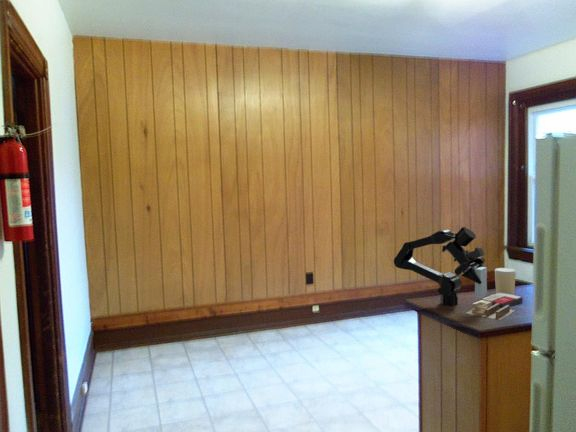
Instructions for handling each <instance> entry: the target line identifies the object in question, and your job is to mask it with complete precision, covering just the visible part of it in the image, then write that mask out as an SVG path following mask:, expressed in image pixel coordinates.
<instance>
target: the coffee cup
mask: <svg viewBox="0 0 576 432" xmlns="http://www.w3.org/2000/svg"><path fill="white" fill-rule="evenodd" d="M516 273H517V271H516V269H515V268H511V267H510V268H509V267H498V268H495V269H494V282H495V284H494V285H495V294H497V293H500V292H501V293H506V294H511V295H515V289H516V288H515V287H516Z"/></svg>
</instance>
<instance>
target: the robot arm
mask: <svg viewBox="0 0 576 432" xmlns="http://www.w3.org/2000/svg"><path fill="white" fill-rule="evenodd" d="M476 238H477V236H476V234H475V233H474V231H473V230H471V229H468V227H466V226H462V227H461V228H460V229H459V230H458V231H457V232H452V231H451V230H450V229H442V230H438V231H436V232H435V233H432V234H430V235H429V236H427V237H423V238H418V239H415V240H412V241H411V240H410V241H407V242H404V243H403V244H402V247H401V249H399V251H398V252H397V254H396V256H395V257H394V259H393V264H394V266H395V267H396V268H398V269H401V270H407V271H412V272H414V273H416V274H419V275H420V276H423V277H425V278H427V279H429V280H431V281H433V282H436V283H437V284H438V285H439V286H440V287H438V288H437V292H438V294H439V297H440V298H439V299H440V300H439V301H440V305H442V306H445V307H446V306H447V307H451V306H455V305H456V306H457V305H459V304H458V303H459V302H458V301H459V299H458V298H459V296H458V295H457V292H459V290H460V289H461V287H462V285H463V282H462V279H461V278H460V277H459V276H461V277H464V278H466V279H468V280H471V281H473V282H474V283H475V282H476V283H478V284H481V283H482V282H481V280H480V279H479V277H478V276H477V275H476V273H475V269H477V268H479V267H484V265H485V262H486V259H485V258H484V257H483V256H485V253H484V252H485V249H483V248H482V247H480V246H477V247H475V248H474V250H472V251H469V250H468V249H467V250H466V249H464V247H467V246H469V245H470V244H471V243H472V242H473V241H475V239H476ZM446 243H447V244H446ZM442 244H444V245H442ZM428 245H429V246H430V245H442V246H441V247H442V249H441V252H442V253H444V252H448V254H450V255H451V257H452V258H453V261H454V262H457V263H458V266H457V267H456V268H455V269H454V273H452V272H450V271H448V272H445V273H441V272H440V271H437V270H436V269H432V268H430V267H428V266H425V265H424V264H421V263H419V262H417V261H416V260H415V259H414V257H413V255H414V250H415V249H417V248H422V247H425V246H428ZM487 281H489V278H488V277H487Z"/></svg>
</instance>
